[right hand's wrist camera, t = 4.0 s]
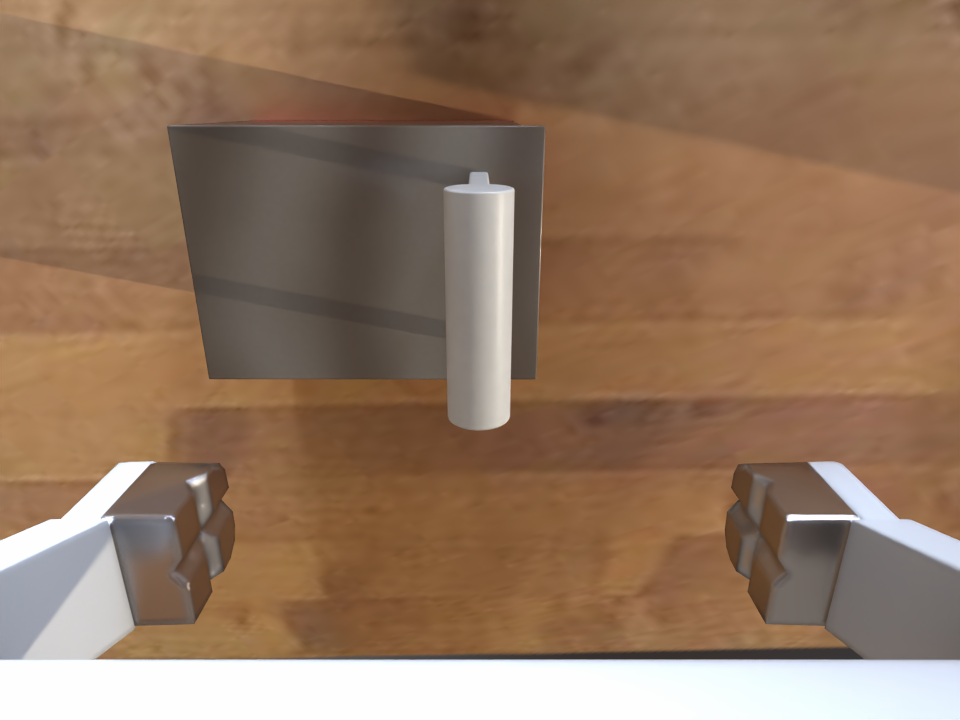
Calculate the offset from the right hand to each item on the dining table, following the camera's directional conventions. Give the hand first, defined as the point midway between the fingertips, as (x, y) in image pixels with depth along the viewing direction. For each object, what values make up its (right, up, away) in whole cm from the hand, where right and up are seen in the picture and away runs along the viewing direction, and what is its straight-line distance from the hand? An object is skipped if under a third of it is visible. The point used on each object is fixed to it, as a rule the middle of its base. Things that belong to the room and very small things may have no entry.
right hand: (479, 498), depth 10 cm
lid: (-5, +7, +16) cm, 18 cm away
